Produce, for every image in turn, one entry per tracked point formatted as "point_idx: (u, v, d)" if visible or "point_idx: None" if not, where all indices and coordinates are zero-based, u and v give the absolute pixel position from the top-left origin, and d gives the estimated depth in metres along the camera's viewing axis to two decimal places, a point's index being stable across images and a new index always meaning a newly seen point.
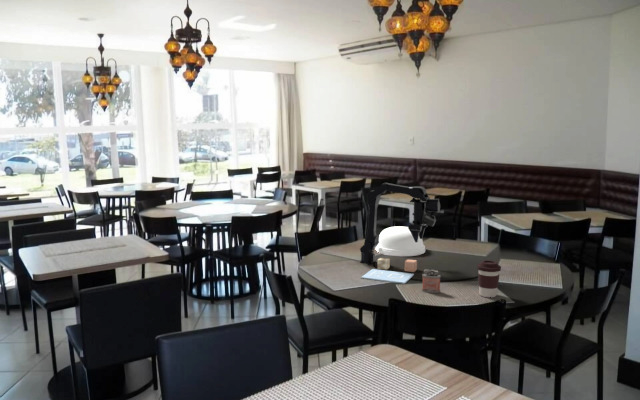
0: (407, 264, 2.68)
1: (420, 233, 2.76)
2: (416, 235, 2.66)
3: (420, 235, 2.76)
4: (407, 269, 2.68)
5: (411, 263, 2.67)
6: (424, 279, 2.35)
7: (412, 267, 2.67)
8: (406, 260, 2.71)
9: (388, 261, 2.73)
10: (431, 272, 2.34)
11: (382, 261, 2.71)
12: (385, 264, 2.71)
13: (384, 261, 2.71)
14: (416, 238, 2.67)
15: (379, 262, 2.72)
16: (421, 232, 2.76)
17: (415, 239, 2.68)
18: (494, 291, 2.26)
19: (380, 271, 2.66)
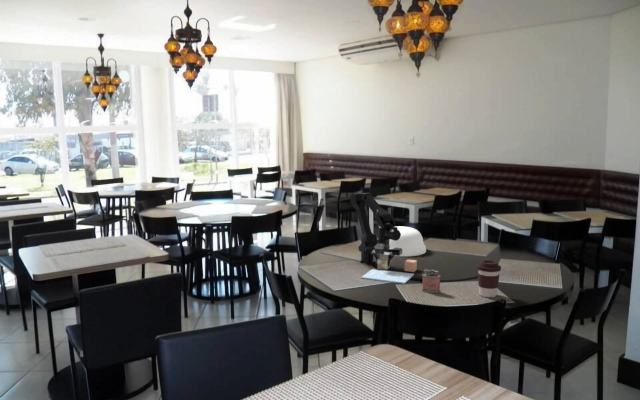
0: (407, 264, 2.68)
1: None
2: None
3: None
4: (407, 269, 2.68)
5: (411, 263, 2.67)
6: (424, 279, 2.35)
7: (412, 267, 2.67)
8: (406, 260, 2.70)
9: None
10: (431, 272, 2.34)
11: (382, 261, 2.71)
12: (385, 264, 2.71)
13: (384, 261, 2.71)
14: None
15: (379, 262, 2.72)
16: None
17: None
18: (494, 291, 2.26)
19: (380, 271, 2.66)
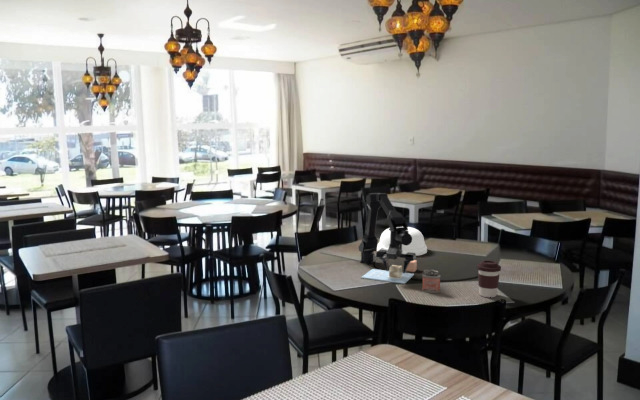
0: None
1: None
2: None
3: None
4: (407, 269, 2.68)
5: (411, 263, 2.67)
6: (424, 279, 2.35)
7: (412, 267, 2.67)
8: None
9: (400, 269, 2.56)
10: (431, 272, 2.34)
11: (394, 269, 2.54)
12: (397, 272, 2.54)
13: (396, 269, 2.54)
14: None
15: (391, 270, 2.55)
16: None
17: None
18: (494, 291, 2.26)
19: (380, 271, 2.66)
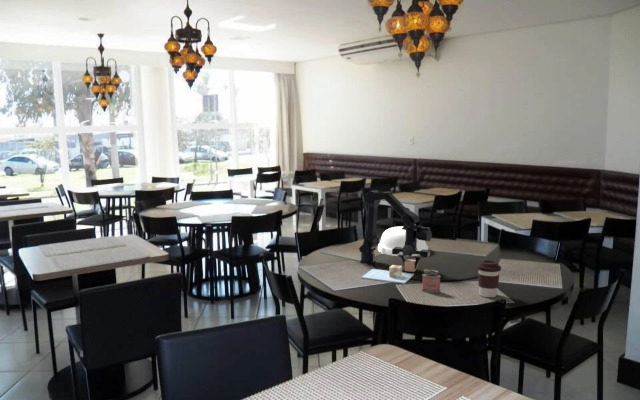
0: (407, 264, 2.68)
1: None
2: None
3: None
4: (407, 269, 2.68)
5: (411, 263, 2.67)
6: (424, 279, 2.35)
7: (412, 267, 2.67)
8: (406, 260, 2.71)
9: (400, 269, 2.56)
10: (431, 272, 2.34)
11: (394, 269, 2.54)
12: (397, 272, 2.54)
13: (396, 269, 2.54)
14: None
15: (391, 270, 2.55)
16: None
17: None
18: (494, 291, 2.26)
19: (380, 271, 2.66)
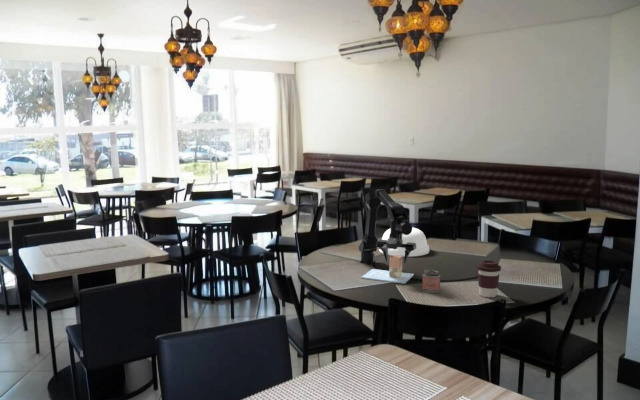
0: (392, 260, 2.54)
1: None
2: None
3: None
4: (392, 265, 2.54)
5: (396, 259, 2.53)
6: (424, 279, 2.35)
7: (397, 263, 2.53)
8: (391, 256, 2.57)
9: (400, 269, 2.56)
10: (431, 272, 2.34)
11: (394, 269, 2.54)
12: (397, 272, 2.54)
13: (396, 269, 2.54)
14: None
15: (391, 270, 2.55)
16: None
17: None
18: (494, 291, 2.26)
19: (380, 271, 2.66)
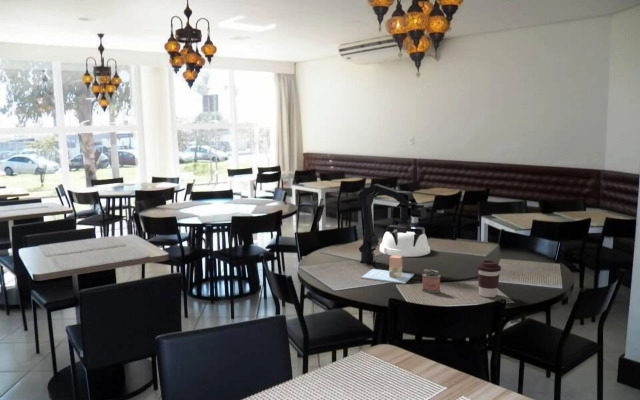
0: (392, 260, 2.54)
1: (414, 241, 2.68)
2: None
3: None
4: (392, 265, 2.54)
5: (396, 259, 2.53)
6: (424, 279, 2.35)
7: (397, 263, 2.53)
8: (391, 256, 2.57)
9: (400, 269, 2.56)
10: (431, 272, 2.34)
11: (394, 269, 2.54)
12: (397, 272, 2.54)
13: (396, 269, 2.54)
14: None
15: (391, 270, 2.55)
16: None
17: None
18: (494, 291, 2.26)
19: (380, 271, 2.66)
